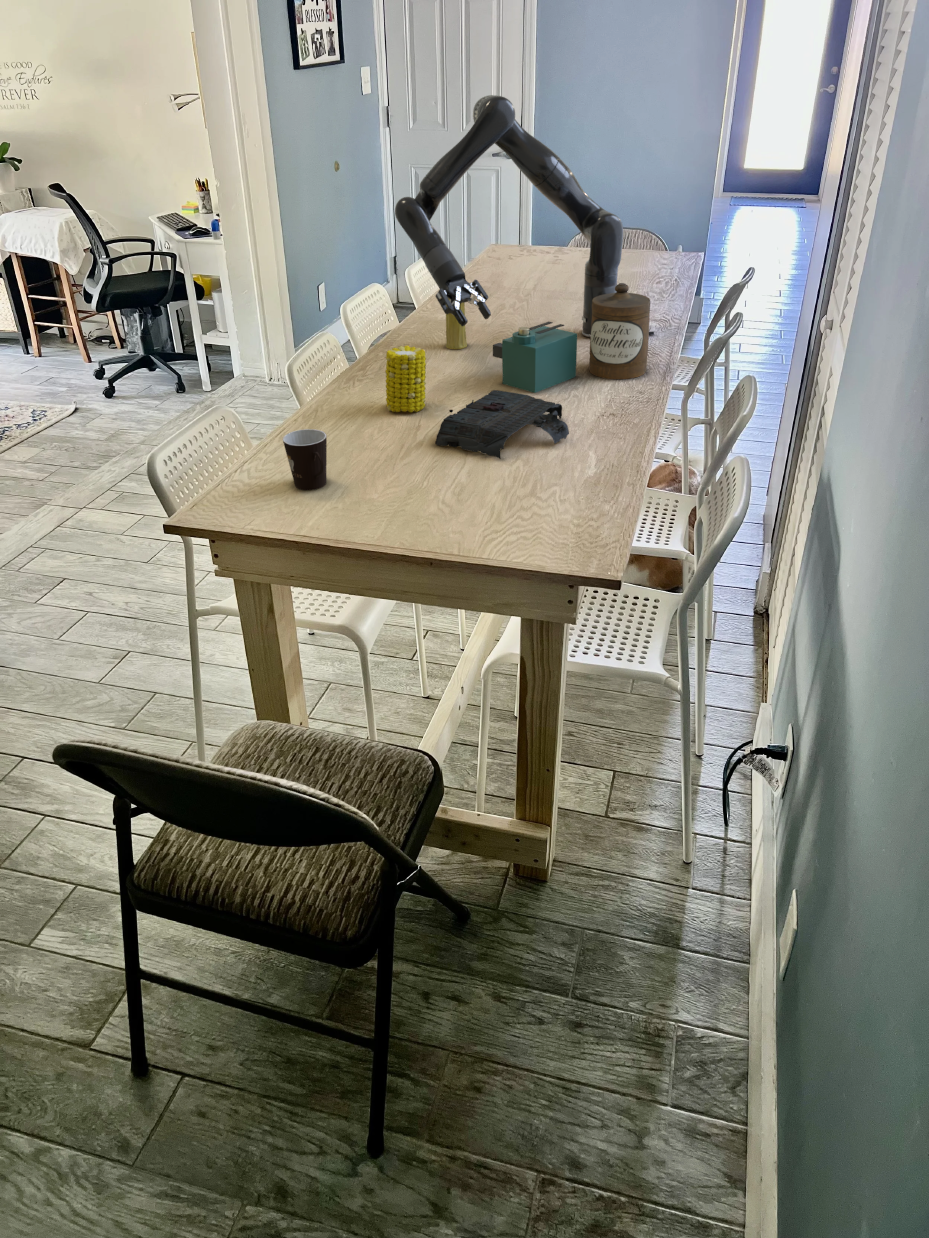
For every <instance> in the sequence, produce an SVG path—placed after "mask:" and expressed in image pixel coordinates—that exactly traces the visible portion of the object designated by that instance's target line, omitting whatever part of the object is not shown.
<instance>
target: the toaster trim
mask: <svg viewBox="0 0 929 1238" xmlns="http://www.w3.org/2000/svg"><path fill="white" fill-rule="evenodd" d="M553 323H554V322H553V321H546V322H543V323H540V324H536V325H534V326H531V327H528V328H529V331H531V330H533V329H536V328H539V327H542V326H548V325H551V324H553ZM564 326H565V324H562V323H559V324H556V325H553V326H549V327H550V328H547V329H544V330H541V331H538V332H535V333H538V334H541V333H544V332H547V331H550V330H553V329H559V328H561V327H564Z"/></svg>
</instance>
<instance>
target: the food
mask: <svg viewBox="0 0 929 1238" xmlns="http://www.w3.org/2000/svg"><path fill="white" fill-rule="evenodd" d="M385 356H386V357H385V359H386V363H385V378H386V379H385V388H386V389H385V395H386V397H385V401H386V407H387V411H388V412H392V413H395V412H396V413H400V412H408V413H413V412H414V413H418V412H421V411H422V410H423V409H425V407H426V404H425V402H426V394H427V393H426V386H425V385H427V382H426V377H427V376H426V373H427V371H426V367H427V364H426V360H427V357H426V351H425V349H423V348H421V347H415V346H409V345H408V344H407V345H404V346H403V345H400V346H398V347H392V348H391V349H388V350H387V351H386V355H385Z"/></svg>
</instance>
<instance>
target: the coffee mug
mask: <svg viewBox="0 0 929 1238" xmlns="http://www.w3.org/2000/svg"><path fill="white" fill-rule="evenodd" d="M327 437H328V435H327V433H326V432H325V431H323V430H321V429H315V428H305V429H304V428H303V429H297V430H293V431H289V432H288V433H286V434H285V435H284V436H283V437H282V442H283V446H284V449H285V453H286V458H287V461H288V464H289V469H290V472H291V475H292V480H293V483H294V487H295V488H296V489H297V490H301V491H316V490H319V489H322V488H323V487H325V486H326V485H327V464H328V463H327V460H328V459H327V458H328V457H327V456H328V455H327V454H328V453H327V447H328V446H327V440H328V439H327Z"/></svg>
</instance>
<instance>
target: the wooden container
mask: <svg viewBox="0 0 929 1238" xmlns="http://www.w3.org/2000/svg"><path fill="white" fill-rule="evenodd" d="M629 290H630V285H628V284H626V283H624V282H619V283H617V285H616V287H615V291H617V292H616V293H609V294H603V295H600V296H597V297H595V298H593V300H592V323H591V337H590V340H589V361H588V369H589V370H588V371H589V373H590V374H591V375H593V376H595V377H598V378H602V379H605V380H607V379H608V380H630V379H635V378H639V377H641V376H644V374H646V373H647V367H648V365H647V364H648V356H649V355H648V353H649V341H650V340H649V339H650V338H649V337H650V335H649V332H650V319H651V318H650V316H651V315H650V312H651V298H649V297H648V296H646V295H644V294H639V293H634V292H629Z"/></svg>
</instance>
